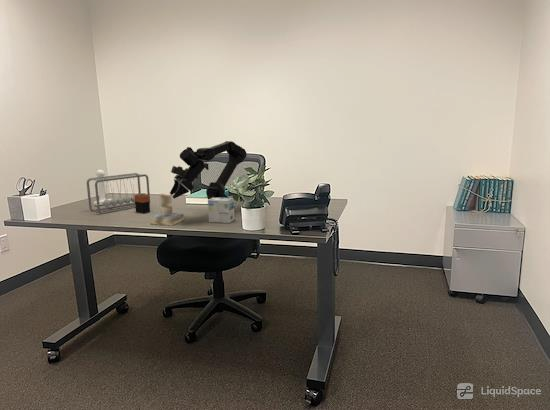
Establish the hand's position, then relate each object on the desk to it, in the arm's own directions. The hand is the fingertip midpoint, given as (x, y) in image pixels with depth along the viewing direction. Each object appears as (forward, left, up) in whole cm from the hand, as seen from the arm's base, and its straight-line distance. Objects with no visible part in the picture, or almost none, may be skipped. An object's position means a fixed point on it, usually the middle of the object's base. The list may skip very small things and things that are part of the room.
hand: (171, 196), depth 190 cm
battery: (+26, -14, -12) cm, 32 cm away
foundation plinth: (+2, +2, -12) cm, 12 cm away
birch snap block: (+2, +2, -9) cm, 9 cm away
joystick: (+59, -26, -12) cm, 66 cm away
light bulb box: (-22, -6, -12) cm, 26 cm away
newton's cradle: (+43, -19, -12) cm, 49 cm away
